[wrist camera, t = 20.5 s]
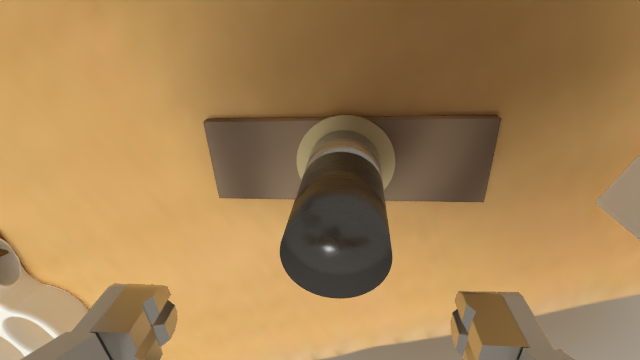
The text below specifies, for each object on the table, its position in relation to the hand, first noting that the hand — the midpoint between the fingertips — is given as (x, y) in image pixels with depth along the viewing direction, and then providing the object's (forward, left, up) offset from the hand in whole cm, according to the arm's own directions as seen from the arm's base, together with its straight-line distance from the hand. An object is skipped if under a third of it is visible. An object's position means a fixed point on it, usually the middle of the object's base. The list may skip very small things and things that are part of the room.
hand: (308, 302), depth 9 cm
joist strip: (+1, -1, -11) cm, 11 cm away
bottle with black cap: (+1, -1, -11) cm, 11 cm away
